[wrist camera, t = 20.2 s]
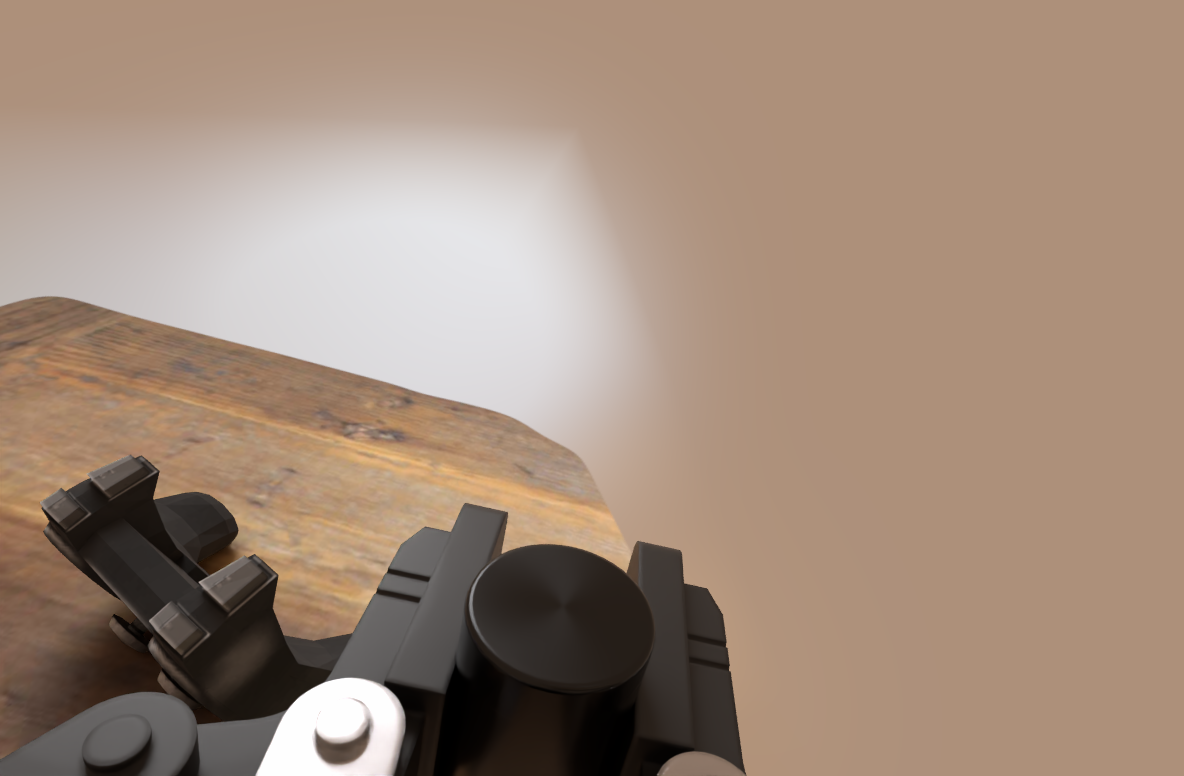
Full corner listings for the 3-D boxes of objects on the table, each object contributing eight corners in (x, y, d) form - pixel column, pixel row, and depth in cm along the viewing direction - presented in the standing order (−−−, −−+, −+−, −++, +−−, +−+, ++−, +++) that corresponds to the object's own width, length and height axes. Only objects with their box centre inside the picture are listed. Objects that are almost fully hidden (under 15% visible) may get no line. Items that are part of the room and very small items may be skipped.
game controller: (109, 602, 34) (-46, 501, 27) (223, 507, 37) (113, 394, 30) (300, 815, 27) (160, 758, 19) (418, 673, 30) (338, 579, 23)
